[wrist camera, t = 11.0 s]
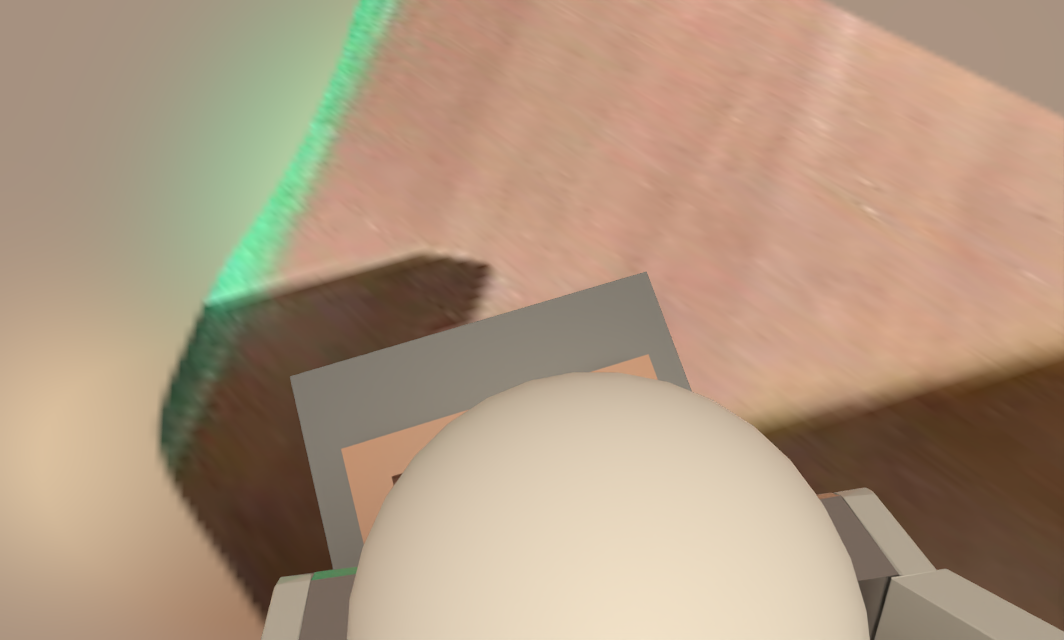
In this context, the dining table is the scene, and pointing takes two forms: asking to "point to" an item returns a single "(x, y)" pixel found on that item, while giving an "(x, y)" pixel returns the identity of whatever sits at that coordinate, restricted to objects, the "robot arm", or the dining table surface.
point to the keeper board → (459, 390)
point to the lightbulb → (603, 526)
